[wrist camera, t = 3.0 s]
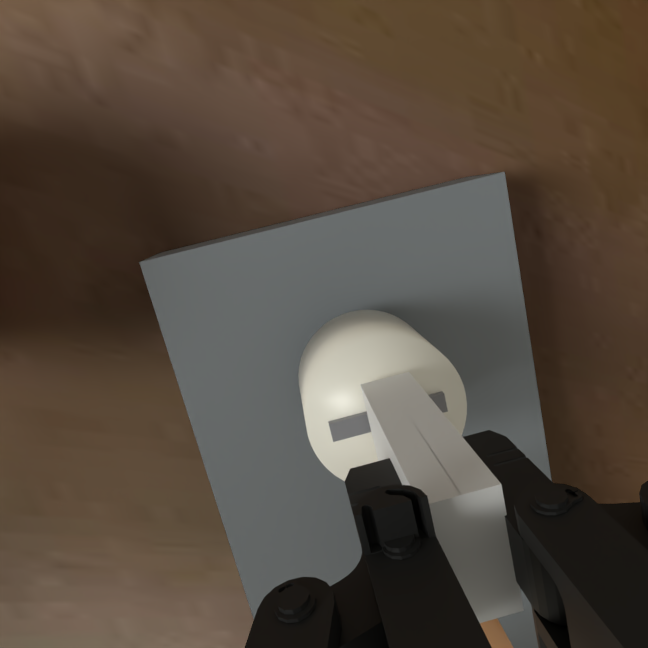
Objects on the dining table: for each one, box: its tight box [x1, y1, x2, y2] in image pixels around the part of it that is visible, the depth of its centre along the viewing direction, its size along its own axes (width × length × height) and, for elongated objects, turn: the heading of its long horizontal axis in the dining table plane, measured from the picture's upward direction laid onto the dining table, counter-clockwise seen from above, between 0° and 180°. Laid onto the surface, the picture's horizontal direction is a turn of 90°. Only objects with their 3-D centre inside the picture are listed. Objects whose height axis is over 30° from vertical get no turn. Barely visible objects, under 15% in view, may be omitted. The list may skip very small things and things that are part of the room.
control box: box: [139, 172, 552, 648], centre depth 25 cm, size 14×28×4 cm, turn 13°
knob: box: [298, 310, 467, 481], centre depth 20 cm, size 5×5×8 cm
